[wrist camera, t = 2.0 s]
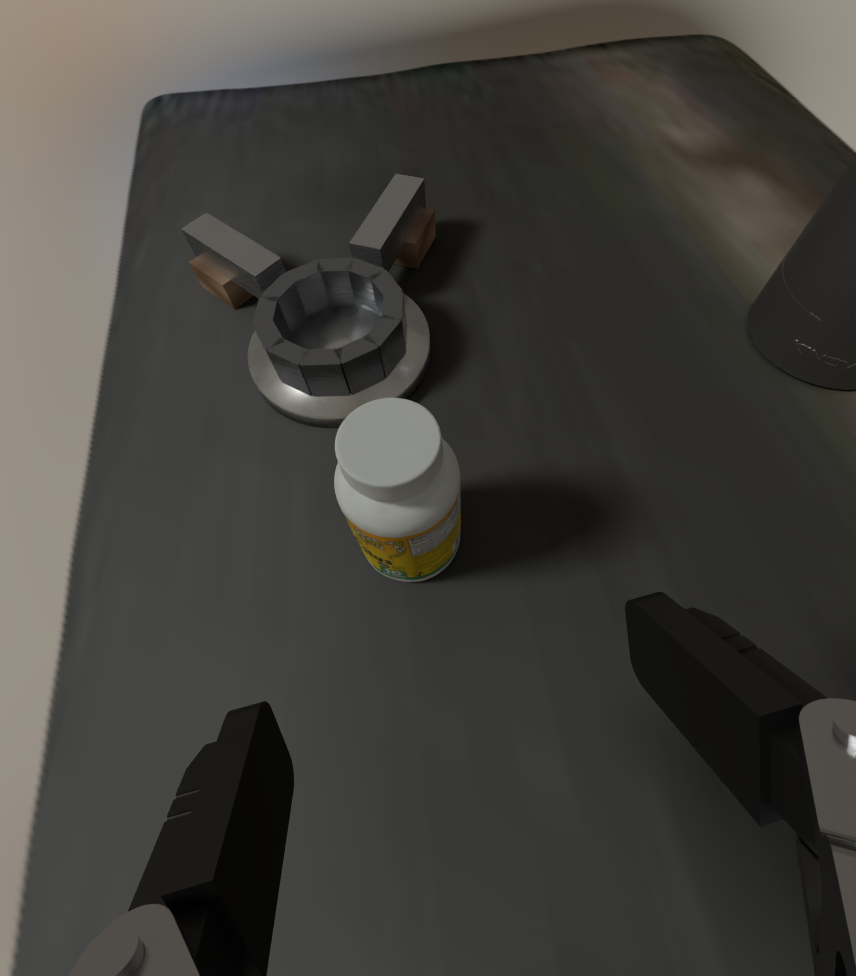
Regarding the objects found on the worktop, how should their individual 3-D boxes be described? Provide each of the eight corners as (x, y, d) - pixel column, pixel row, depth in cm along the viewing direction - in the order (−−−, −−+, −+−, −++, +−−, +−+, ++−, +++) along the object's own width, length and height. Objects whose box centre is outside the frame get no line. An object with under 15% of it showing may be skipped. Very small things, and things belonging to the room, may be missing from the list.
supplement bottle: (480, 546, 26) (491, 451, 17) (397, 605, 24) (365, 534, 16) (422, 476, 28) (407, 361, 19) (344, 527, 27) (290, 428, 18)
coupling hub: (323, 273, 36) (309, 224, 33) (462, 326, 33) (463, 277, 30) (217, 383, 32) (188, 339, 28) (366, 457, 29) (353, 417, 25)
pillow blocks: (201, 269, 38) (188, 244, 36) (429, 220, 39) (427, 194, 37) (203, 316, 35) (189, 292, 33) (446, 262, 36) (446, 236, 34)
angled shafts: (298, 168, 39) (290, 139, 38) (441, 213, 36) (441, 183, 34) (183, 268, 34) (166, 240, 32) (335, 333, 31) (327, 305, 29)
